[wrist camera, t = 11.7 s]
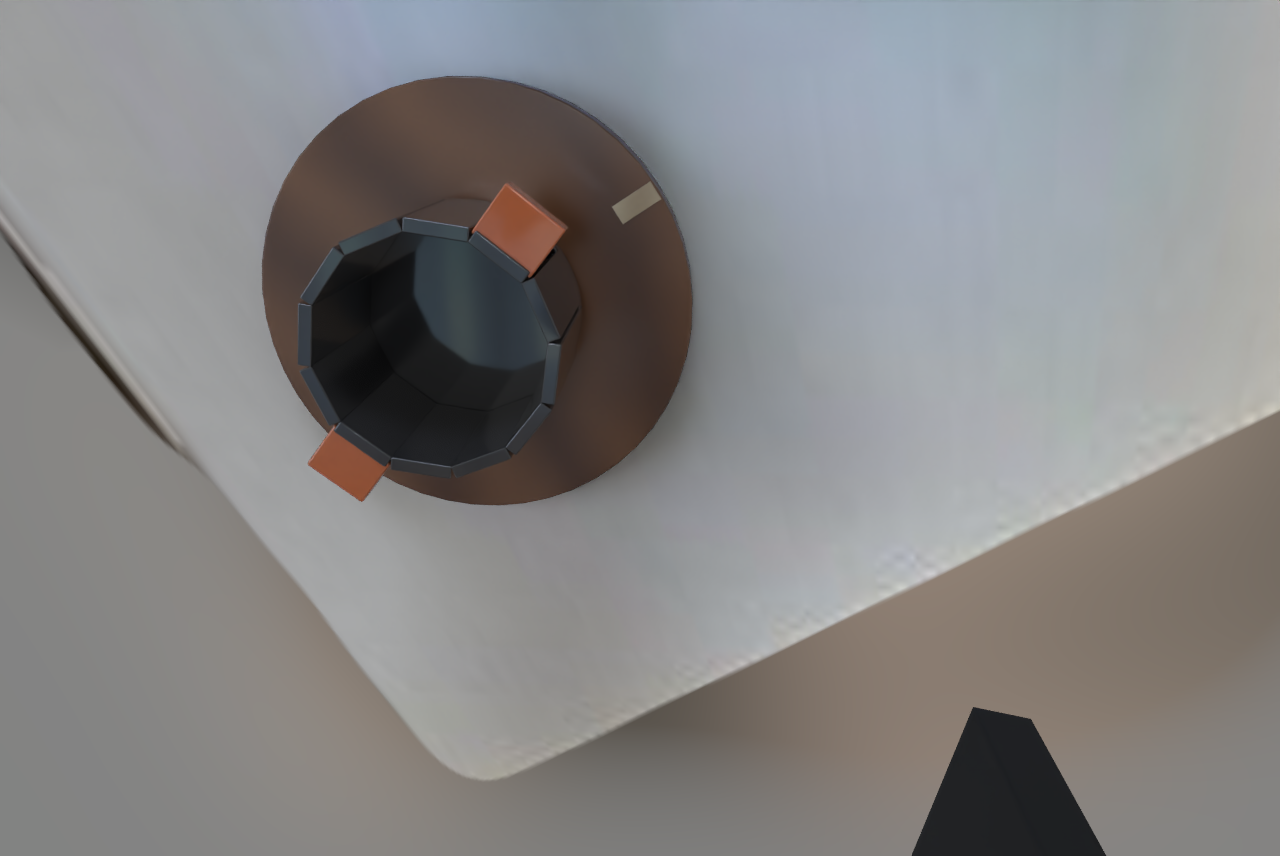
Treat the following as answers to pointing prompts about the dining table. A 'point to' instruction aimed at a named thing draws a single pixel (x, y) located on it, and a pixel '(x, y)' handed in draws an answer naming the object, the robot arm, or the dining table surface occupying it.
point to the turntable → (593, 244)
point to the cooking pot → (438, 339)
